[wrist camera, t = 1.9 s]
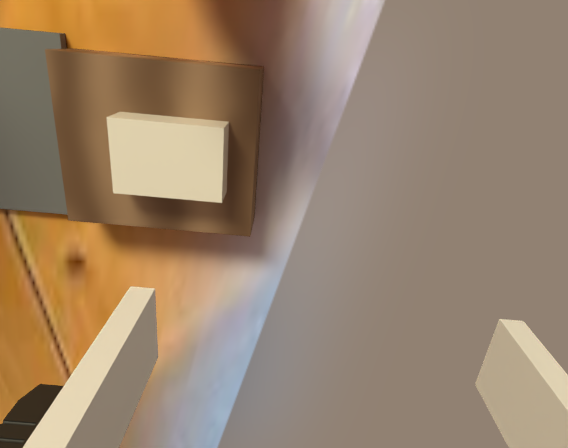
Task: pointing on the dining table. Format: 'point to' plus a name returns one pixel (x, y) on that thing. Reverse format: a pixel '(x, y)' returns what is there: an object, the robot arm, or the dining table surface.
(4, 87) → the charcoal mat
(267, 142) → the dining table surface
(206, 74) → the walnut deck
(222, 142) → the ceramic tile
